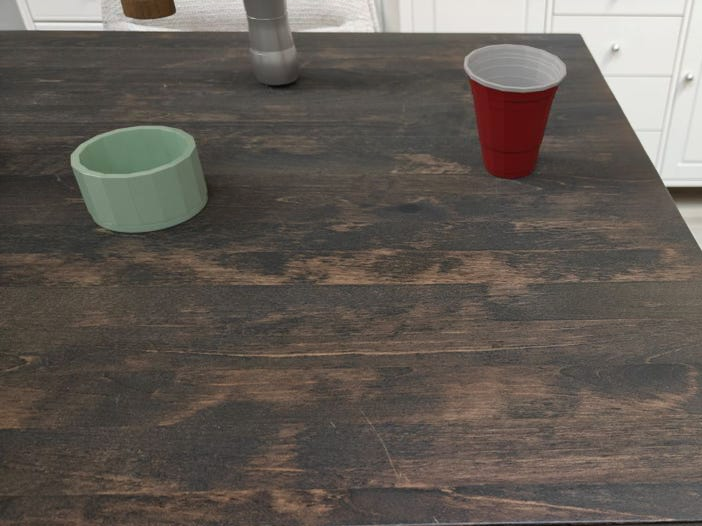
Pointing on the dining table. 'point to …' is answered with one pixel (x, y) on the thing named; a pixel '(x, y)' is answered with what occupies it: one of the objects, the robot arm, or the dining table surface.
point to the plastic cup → (512, 103)
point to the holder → (140, 178)
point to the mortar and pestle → (148, 9)
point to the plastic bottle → (271, 42)
